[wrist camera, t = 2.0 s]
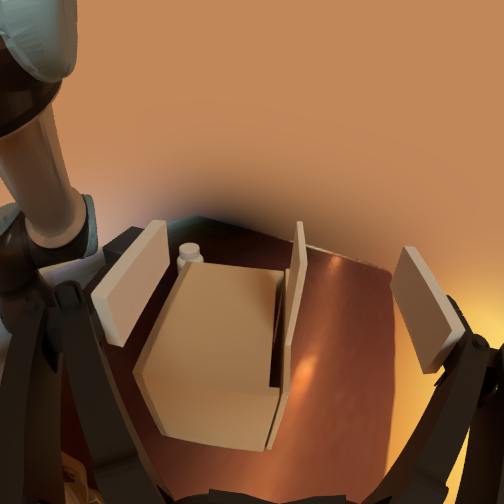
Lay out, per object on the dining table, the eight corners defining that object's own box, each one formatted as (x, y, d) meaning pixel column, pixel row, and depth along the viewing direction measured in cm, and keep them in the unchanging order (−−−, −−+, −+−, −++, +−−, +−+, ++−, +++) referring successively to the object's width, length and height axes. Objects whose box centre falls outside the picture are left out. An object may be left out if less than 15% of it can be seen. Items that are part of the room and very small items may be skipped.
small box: (137, 263, 68) (131, 224, 63) (158, 269, 66) (153, 229, 61) (110, 286, 59) (100, 246, 54) (132, 295, 58) (123, 253, 52)
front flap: (266, 449, 32) (303, 311, 19) (274, 345, 49) (295, 201, 35) (270, 449, 32) (312, 312, 19) (277, 345, 49) (299, 201, 35)
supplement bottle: (193, 276, 65) (191, 238, 60) (209, 287, 62) (208, 247, 57) (174, 286, 62) (170, 247, 56) (190, 298, 59) (187, 258, 54)
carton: (161, 434, 33) (132, 372, 25) (193, 335, 50) (186, 260, 42) (262, 451, 32) (279, 396, 24) (271, 346, 49) (283, 271, 41)
